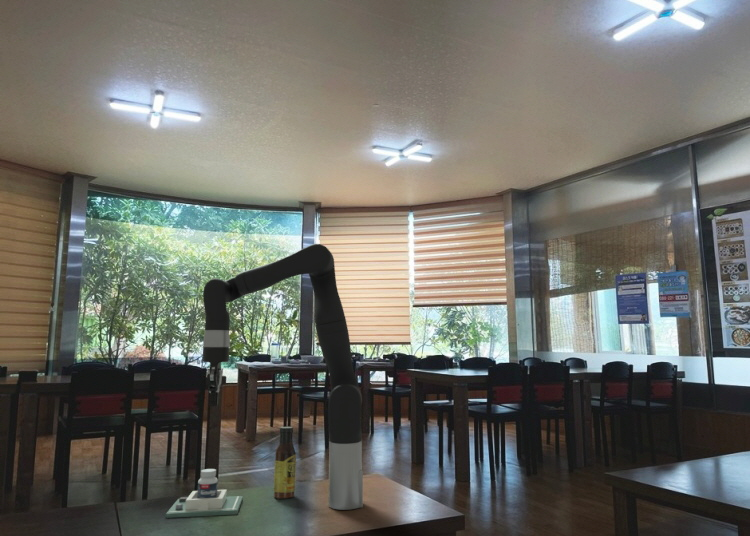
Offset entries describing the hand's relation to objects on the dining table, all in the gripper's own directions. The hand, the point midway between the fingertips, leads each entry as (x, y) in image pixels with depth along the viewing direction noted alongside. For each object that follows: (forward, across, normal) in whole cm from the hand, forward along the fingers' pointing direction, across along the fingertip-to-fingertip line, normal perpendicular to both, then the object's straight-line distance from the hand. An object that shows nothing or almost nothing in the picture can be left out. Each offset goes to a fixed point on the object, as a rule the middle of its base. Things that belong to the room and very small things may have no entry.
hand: (213, 405), depth 148 cm
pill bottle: (+26, -4, 0) cm, 26 cm away
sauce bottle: (+27, +4, -21) cm, 35 cm away
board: (+27, -4, 0) cm, 27 cm away
